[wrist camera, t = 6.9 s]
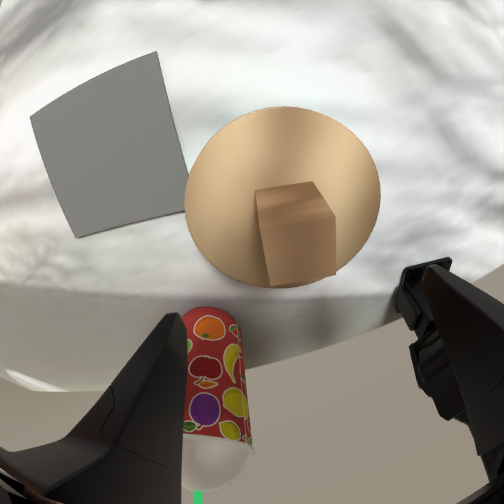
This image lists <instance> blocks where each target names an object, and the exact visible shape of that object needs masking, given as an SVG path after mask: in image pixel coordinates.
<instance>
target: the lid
mask: <svg viewBox="0 0 504 504" xmlns="http://www.w3.org/2000/svg"><path fill="white" fill-rule="evenodd" d="M380 198H381V195H380V182H379V176H378V172H377V169H376V166H375V163H374V161H373V159H372V157H371V155H370V153H369V151H368V150H367V149H366V147H365V146H364V144H363V143H362V142H361V141H360V139H359V138H358V137H357V136H356V135H355V134H354V133H353V132H352V131H350V130H349V129H348V128H347V127H345V126H344V125H343V124H341V123H339V122H338V121H336V120H334V119H332V118H330V117H328V116H325V115H323V114H320V113H318V112H315V111H312V110H308V109H303V108H298V107H285V106H283V107H270V108H265V109H261V110H256V111H253V112H251V113H248V114H245V115H243V116H241V117H239V118H237V119H235V120H233V121H232V122H230V123H228V124H227V125H226V126H224V127H223V128H222V129H220V130H219V131H218V132H217V133H216V134H215V135H214V136H213V137H212V138H211V139H210V140H209V141H208V143H207V144H206V145H205V147H204V148H203V149H202V151H201V152H200V154H199V155H198V157H197V159H196V161H195V163H194V165H193V167H192V169H191V171H190V174H189V177H188V180H187V185H186V190H185V201H184V207H185V217H186V221H187V225H188V229H189V231H190V234H191V236H192V239H193V241H194V242H195V244H196V246H197V247H198V249H199V250H200V252H201V253H202V254H203V255H204V257H205V258H206V259H207V260H208V261H209V262H210V263H211V264H212V265H213V266H215V267H216V268H217V269H219V270H220V271H221V272H223V273H224V274H226V275H228V276H229V277H231V278H233V279H236V280H238V281H240V282H243V283H246V284H249V285H253V286H258V287H263V288H274V289H275V288H292V287H298V286H303V285H307V284H310V283H313V282H316V281H319V280H321V279H323V278H325V277H328V276H333V275H336V271H338V270H339V269H340V268H342V267H343V266H345V265H346V264H347V263H348V262H349V261H350V260H351V259H353V258H354V257H355V255H356V254H357V253H358V252H359V251H360V250H361V249H362V247H363V246H364V244H365V243H366V241H367V240H368V238H369V236H370V234H371V232H372V231H373V228H374V226H375V223H376V220H377V217H378V213H379V208H380Z"/></svg>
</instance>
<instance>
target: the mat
mask: <svg viewBox="0 0 504 504" xmlns="http://www.w3.org/2000/svg"><path fill="white" fill-rule="evenodd" d="M30 120H31V124H32V127H33V131H34V134H35V138H36V141H37V144H38V148H39V151H40V154H41V157H42V160H43V163H44V165H45V168H46V171H47V174H48V176H49V179H50V182H51V184H52V187H53V189H54V192H55V194H56V197H57V199H58V201H59V204H60V206H61V208H62V210H63V213H64V215H65V217H66V219H67V221H68V223H69V226H70V228H71V230H72V232H73V234H74V236H75V238H78V237H81V236H85V235H88V234H92V233H95V232H99V231H103V230H106V229H110V228H114V227H118V226H121V225H125V224H129V223H133V222H137V221H141V220H145V219H149V218H154V217H158V216H162V215H166V214H171V213H175V212H180V211H184V210H185V207H184V201H185V190H186V185H187V180H188V177H189V175H188V171H187V168H186V164H185V161H184V157H183V153H182V150H181V146H180V143H179V139H178V135H177V131H176V128H175V124H174V120H173V116H172V112H171V108H170V104H169V100H168V96H167V92H166V88H165V84H164V80H163V76H162V71H161V67H160V63H159V58H158V54H157V52H156V51H155V52H152V53H150V54H147V55H144V56H142V57H139V58H136V59H134V60H131V61H129V62H127V63H124V64H122V65H120V66H117V67H115V68H113V69H111V70H109V71H107V72H104V73H102V74H100V75H98V76H96V77H94V78H92V79H90V80H88V81H87V82H85V83H83V84H81V85H79V86H77V87H76V88H74V89H72V90H70V91H69V92H67V93H65V94H64V95H62V96H60V97H59V98H57V99H55V100H54V101H52V102H51V103H49V104H48V105H46V106H45V107H43V108H42V109H40V110H39V111H37V112H36V113H34V114H33V115H32V116H30Z"/></svg>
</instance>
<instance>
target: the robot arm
mask: <svg viewBox="0 0 504 504" xmlns="http://www.w3.org/2000/svg"><path fill="white" fill-rule="evenodd" d="M451 264H452V259H451V258H450V257H446V258H443V259H439V260H435V261H431V262H427V263H422V264H418V265H414V266H410V267H407V268H406V269H405V270H404V273H403V278H402V282H401V287H400V290H399V294H398V298H397V302H396V308H395V310H396V312H397V313H401V314H402V316H403V318H404V320H405V321H406V324H407V325H408V327H409V329H410V330H411V331H413V330H414V331H415V333H416V335H417V337H418V340H417V341H416V342H415V343H412V344H411V345H410V346H409V349H410V355H411V359H412V363H413V367H414V371H415V376H416V380H417V382H418V387H419V388H420V389H422V390H423V391H424V392H425V393H426V395H428V396H429V397H431V398H432V399H433V401H434V403H435V405H436V408H437V411H438V413H439V415H440V416H441V417H442V418H444V419H445V420H447V421H449V420H451V419H452V418H454V419H456V420H458V421H460V422H462V423H464V424H466V425H468V427H469V429H470V431H471V434H472V436H473V438H474V441H475V446H476V451H477V455H478V456H481V459H482V461H483V464H484V467H485V470H486V473H487V476H488V479H489V483H488V484H486V485H485V486H484V487H482V488H481V489H479V490H478V491H476V492H475V493H473V494H472V495H470V496H468V497H467V498H465V499H463V500H462V501H460V502H459V503H457V504H504V304H503V303H501V302H500V301H498V300H497V299H495V298H493V297H492V296H490V295H489V294H487V293H485V292H484V291H482V290H480V289H479V288H477V287H475V286H474V285H472V284H470V283H469V282H467V281H465V280H463V279H462V278H460V277H458V276H457V275H455V274H453V273H451V272H449V270H450V267H451ZM187 376H188V351H187V329H186V326H185V324H184V322H183V321H182V319H181V317H180V315H179V314H178V313H176V312H174V313H167V314H166V315H165V316H164V317H163V318H162V319H161V321H160V322H159V323H158V324H157V326H156V327H155V328H154V329H153V331H152V332H151V333H150V334H149V336H148V337H147V338H146V339H145V341H144V342H143V343H142V345H141V346H140V347H139V348H138V350H137V351H136V352H135V353H134V355H133V356H132V357H131V359H130V360H129V361H128V362H127V364H126V365H125V366H124V368H123V369H122V370H121V371H120V373H119V374H118V375H117V377H116V378H115V379H114V381H113V382H112V383H111V385H110V386H109V387H108V388H107V390H106V391H105V392H104V394H103V395H102V396H101V397H100V399H99V400H98V401H97V402H96V403H95V405H94V406H93V407H92V408H91V409H90V410H89V412H88V413H87V414H86V415H85V416H84V417H83V418H82V419H81V421H79V423H78V424H77V425H76V426H75V427H74V428H73V429H72V430H71V431H70V432H69V433H68V434H67V435H66V436H65V437H64V438H62V439H60V440H58V441H56V442H52V443H49V444H45V445H42V446H38V447H34V448H30V449H26V450H22V451H17V452H9V451H7V450H6V449H4V448H2V447H0V468H1V469H3V470H4V471H5V472H6V473H8V474H9V475H8V474H6V473H4V472H2V471H1V470H0V504H181V482H182V474H181V473H182V448H183V429H184V414H185V400H186V387H187ZM10 475H11V476H10Z"/></svg>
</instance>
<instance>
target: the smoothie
mask: <svg viewBox="0 0 504 504" xmlns="http://www.w3.org/2000/svg"><path fill="white" fill-rule="evenodd" d="M181 319H182V321H183V322H184V324H185V326H186V329H187V351H188V376H187V387H186V400H185V414H184V429H183V448H182V473H181V474H182V482H181V488H183V489H186V490H189V491H194V504H202V493H203V492H212V491H216V490H219V489H222V488H224V487H227V486H228V485H230V484H232V483H233V482H234V481H235V480H237V479H238V478H239V476H240V475H241V474H242V473H243V471H244V469H245V467H246V465H247V463H248V461H249V458H250V457H252V456H253V455H254V448H253V447H252V437H251V428H250V419H249V409H248V400H247V390H246V379H245V369H244V358H243V348H242V336H241V330H240V328H239V327H238V325H237V324H236V322H235V321H234V319H233V317H232V316H230V315H229V314H228V313H227V312H225V311H222V310H220V309H217V308H212V307H199V308H195V309H192V310H190V311H189V312H187V313H186V314H185V315H184V317H183V318H181Z"/></svg>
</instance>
